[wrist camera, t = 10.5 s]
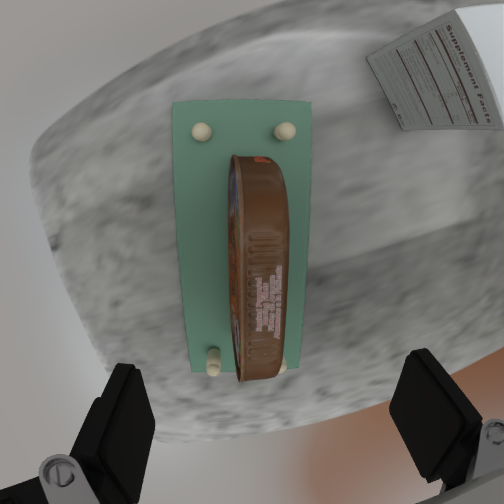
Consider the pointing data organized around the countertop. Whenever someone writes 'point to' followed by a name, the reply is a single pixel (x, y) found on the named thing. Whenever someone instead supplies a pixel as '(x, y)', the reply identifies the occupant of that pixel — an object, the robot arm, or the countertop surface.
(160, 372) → the countertop surface
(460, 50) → the supplement box
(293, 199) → the green peg board
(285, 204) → the tin
